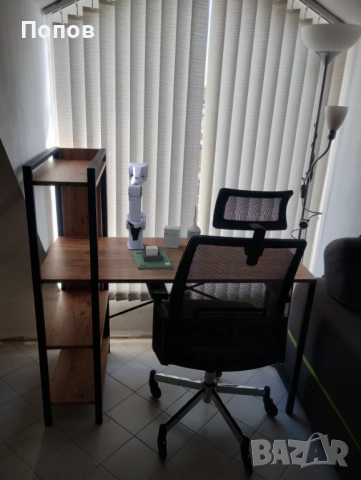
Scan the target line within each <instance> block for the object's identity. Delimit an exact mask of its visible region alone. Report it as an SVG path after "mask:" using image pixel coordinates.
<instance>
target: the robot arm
mask: <svg viewBox="0 0 361 480" xmlns="http://www.w3.org/2000/svg"><path fill="white" fill-rule="evenodd" d="M148 172H149V164H148V163H147V162H146V163H144V162H143V163H142V162H131V161H130V162H129V163H128V178H129V181H130V182H129V183H130V184H129V186H128V187H127V195H128V196H127V197H128V213H127V215H126V220H125V229H126V230H127V232H128V242H126V244H127V249H128V250H145V246H144V245H143V244H144V243H143V237H144V231H146V228H147V227H146V226H147V225H146V224H147V222H146V221H147V220H146V218H147V216H146V214H144V213H143V212H142V198H143V193H144V192H143V191H144V188H143V184H144V183H145V182H146V181H147V180H148V174H149V173H148Z"/></svg>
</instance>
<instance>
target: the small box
mask: <svg viewBox="0 0 361 480" xmlns="http://www.w3.org/2000/svg"><path fill="white" fill-rule="evenodd" d="M180 243H181V226H179V225H165V226H164V228H163V245H162V246H163V248H171V249H179V247H180Z"/></svg>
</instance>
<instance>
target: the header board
mask: <svg viewBox="0 0 361 480" xmlns="http://www.w3.org/2000/svg"><path fill="white" fill-rule="evenodd" d="M132 252H133V257H134V260H135V264H136V267H137V268H136V269H137V270H151V269H155V270H156V269H173V268H174V267H173V264H172V261H171V260H170V258H169V255H168V253H167V251H166V250H165V249H158V255H157V256H146V249H138V250H133V251H132Z"/></svg>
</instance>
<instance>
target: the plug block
mask: <svg viewBox="0 0 361 480" xmlns="http://www.w3.org/2000/svg"><path fill="white" fill-rule="evenodd" d="M145 250H146V256H157V255H158V250H159V248H158V247H157V245H146V246H145Z"/></svg>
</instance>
